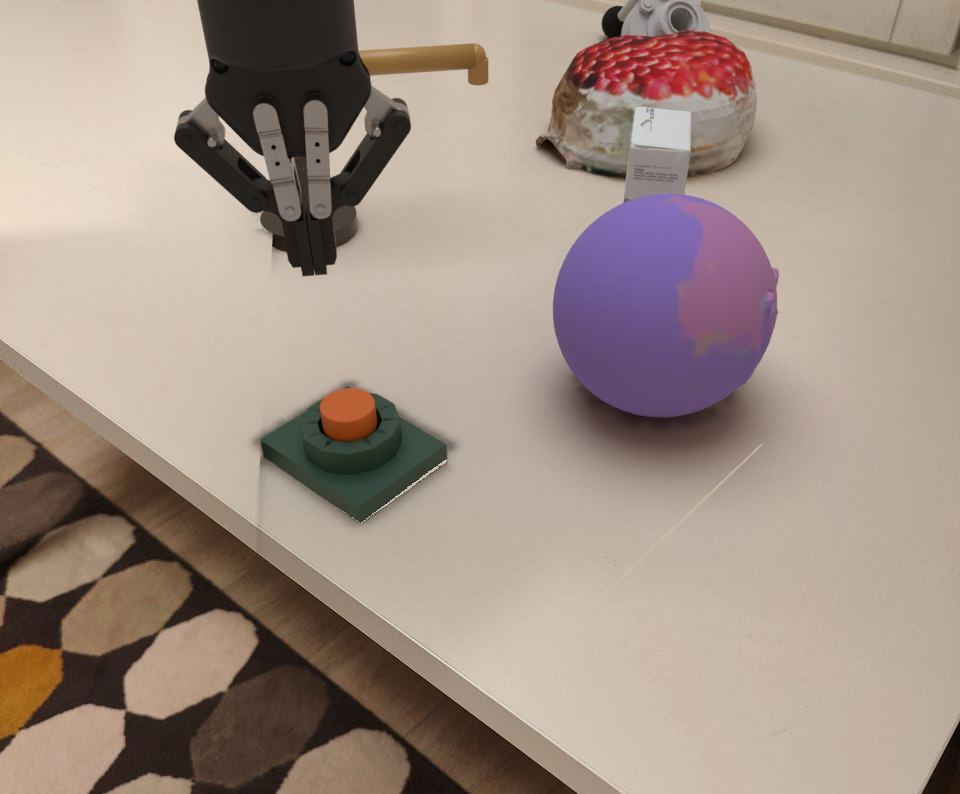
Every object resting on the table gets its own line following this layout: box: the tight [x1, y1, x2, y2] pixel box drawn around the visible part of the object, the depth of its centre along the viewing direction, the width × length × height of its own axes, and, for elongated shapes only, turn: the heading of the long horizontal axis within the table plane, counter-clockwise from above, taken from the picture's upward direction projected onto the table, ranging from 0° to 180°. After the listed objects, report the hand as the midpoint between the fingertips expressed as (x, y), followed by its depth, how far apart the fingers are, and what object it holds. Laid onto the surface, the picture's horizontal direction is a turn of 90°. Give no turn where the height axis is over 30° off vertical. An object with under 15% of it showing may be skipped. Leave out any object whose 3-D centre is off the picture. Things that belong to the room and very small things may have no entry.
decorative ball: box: [552, 194, 780, 418], centre depth 65 cm, size 15×15×15 cm
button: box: [320, 387, 377, 442], centre depth 62 cm, size 4×4×2 cm
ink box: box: [623, 107, 691, 203], centre depth 81 cm, size 8×5×12 cm, turn 170°
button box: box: [259, 385, 448, 524], centre depth 64 cm, size 10×8×4 cm
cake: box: [535, 30, 758, 179], centre depth 101 cm, size 23×24×10 cm
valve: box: [601, 0, 711, 39], centre depth 119 cm, size 10×20×15 cm
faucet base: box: [259, 156, 359, 252], centre depth 85 cm, size 9×9×14 cm
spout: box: [358, 42, 489, 86], centre depth 80 cm, size 19×3×4 cm, turn 98°
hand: (315, 268), depth 56 cm, fingers closed
